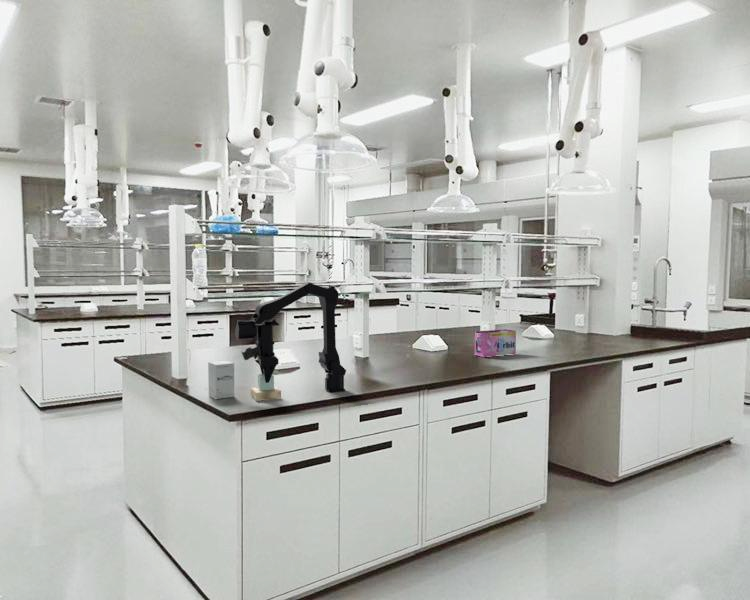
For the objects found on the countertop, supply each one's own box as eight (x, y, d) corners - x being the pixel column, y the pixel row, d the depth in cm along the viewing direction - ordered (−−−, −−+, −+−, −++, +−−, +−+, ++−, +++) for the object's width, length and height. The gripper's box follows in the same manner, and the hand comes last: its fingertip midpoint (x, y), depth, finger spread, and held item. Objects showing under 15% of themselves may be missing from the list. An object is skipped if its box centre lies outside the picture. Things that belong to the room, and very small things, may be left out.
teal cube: (271, 386, 204) (271, 373, 204) (273, 389, 200) (273, 375, 199) (257, 387, 203) (257, 374, 202) (259, 390, 198) (259, 376, 198)
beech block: (275, 394, 207) (275, 385, 207) (281, 400, 199) (281, 390, 199) (251, 397, 203) (250, 387, 203) (256, 402, 195) (255, 392, 195)
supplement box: (215, 399, 197) (214, 364, 197) (208, 396, 203) (207, 362, 203) (235, 397, 202) (234, 362, 201) (227, 393, 208) (227, 360, 207)
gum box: (481, 358, 290) (481, 332, 289) (472, 356, 297) (472, 331, 296) (516, 355, 301) (516, 330, 301) (506, 353, 308) (506, 329, 308)
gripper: (239, 336, 206) (240, 377, 207) (245, 342, 188) (246, 387, 189) (269, 335, 210) (270, 375, 211) (278, 341, 192) (279, 385, 193)
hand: (265, 381), depth 201 cm, fingers open, 6 cm apart
